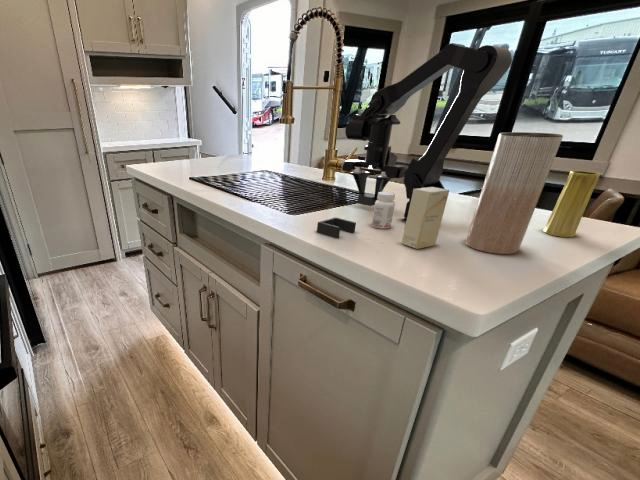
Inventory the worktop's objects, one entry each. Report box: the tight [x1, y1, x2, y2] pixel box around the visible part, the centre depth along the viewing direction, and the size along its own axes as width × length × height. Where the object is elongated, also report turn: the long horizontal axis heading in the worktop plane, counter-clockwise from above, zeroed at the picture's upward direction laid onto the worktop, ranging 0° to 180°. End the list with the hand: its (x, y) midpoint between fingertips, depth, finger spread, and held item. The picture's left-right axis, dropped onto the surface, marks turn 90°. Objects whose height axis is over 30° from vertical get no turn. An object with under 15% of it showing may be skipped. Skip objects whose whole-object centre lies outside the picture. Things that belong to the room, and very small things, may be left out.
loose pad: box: [356, 192, 377, 207], centre depth 108 cm, size 5×5×2 cm
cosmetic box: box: [401, 187, 450, 250], centre depth 78 cm, size 6×4×12 cm
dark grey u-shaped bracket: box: [316, 216, 357, 239], centre depth 88 cm, size 6×7×2 cm
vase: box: [543, 170, 601, 238], centre depth 84 cm, size 6×6×14 cm
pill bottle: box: [371, 191, 396, 230], centre depth 91 cm, size 5×5×8 cm
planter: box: [465, 131, 564, 255], centre depth 74 cm, size 10×10×23 cm
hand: (369, 198), depth 108 cm, fingers closed on loose pad, 4 cm apart
